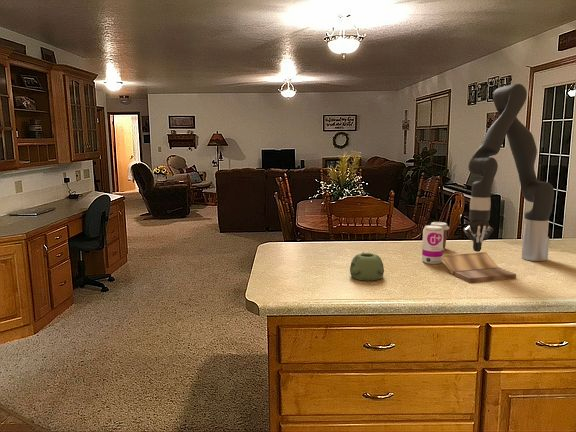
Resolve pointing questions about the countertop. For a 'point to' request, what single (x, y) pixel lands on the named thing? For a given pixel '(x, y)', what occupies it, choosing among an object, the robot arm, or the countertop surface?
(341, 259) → the countertop surface
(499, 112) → the robot arm
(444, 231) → the coffee cup
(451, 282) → the countertop surface
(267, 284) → the countertop surface
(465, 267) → the oak plank
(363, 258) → the green rounded vase
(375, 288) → the countertop surface
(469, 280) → the walnut board
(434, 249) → the supplement can
